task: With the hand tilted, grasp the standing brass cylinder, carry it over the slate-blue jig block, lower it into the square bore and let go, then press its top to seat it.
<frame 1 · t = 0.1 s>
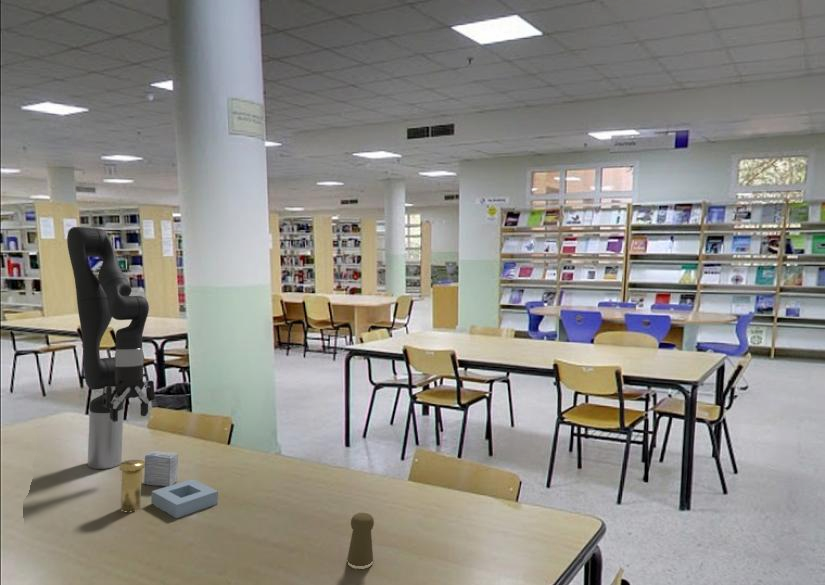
hand: (129, 418, 169), 17 cm above the table, tool pointing down, fingers open, 8 cm apart
jig: (184, 503, 154), on the table
medicine box: (160, 484, 166), on the table
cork: (359, 563, 130), on the table
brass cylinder: (130, 508, 149), on the table
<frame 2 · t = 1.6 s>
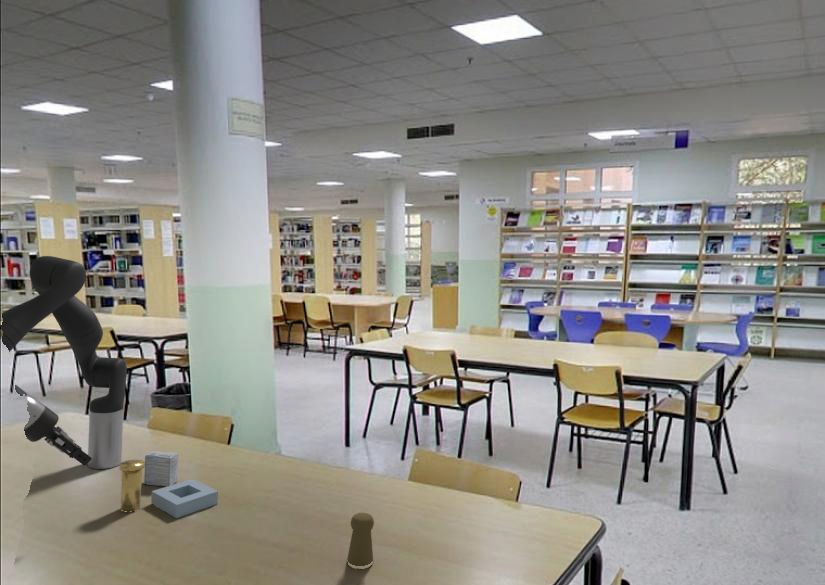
hand: (83, 456, 140), 16 cm above the table, tool tilted 45°, fingers open, 8 cm apart
nothing on the table moved.
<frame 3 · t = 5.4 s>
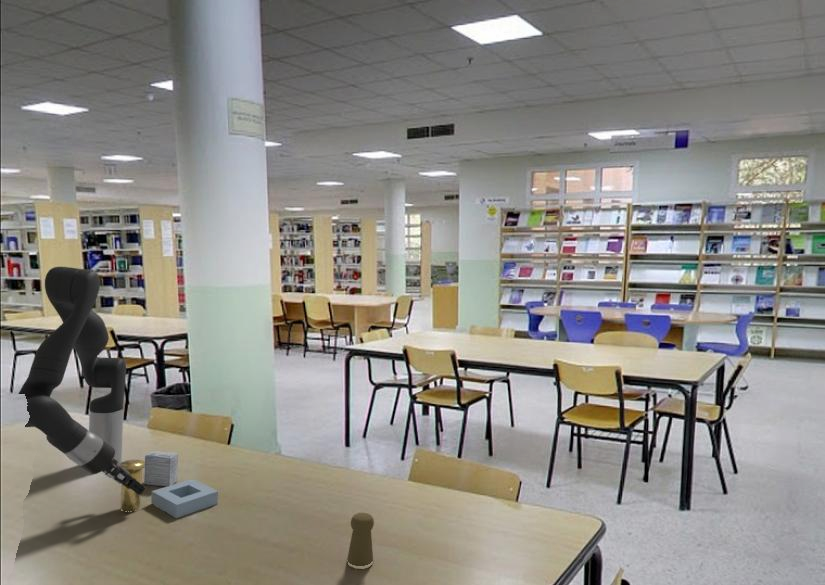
hand: (138, 487, 150), 5 cm above the table, tool tilted 45°, fingers closed on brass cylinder, 4 cm apart
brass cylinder: (130, 508, 149), on the table, touching gripper
everything else where it was.
when the fingers open (7 cm above the table, at t = 9.5 s): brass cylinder drops 1 cm, resting in jig.
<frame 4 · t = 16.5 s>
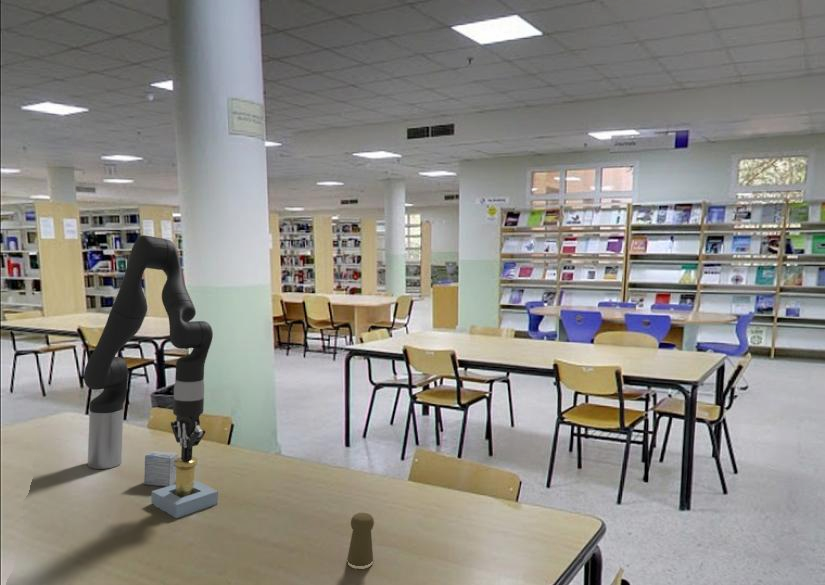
hand: (186, 460, 153), 12 cm above the table, tool pointing down, fingers closed
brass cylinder: (184, 504, 154), resting in jig, touching gripper
everything else where it was.
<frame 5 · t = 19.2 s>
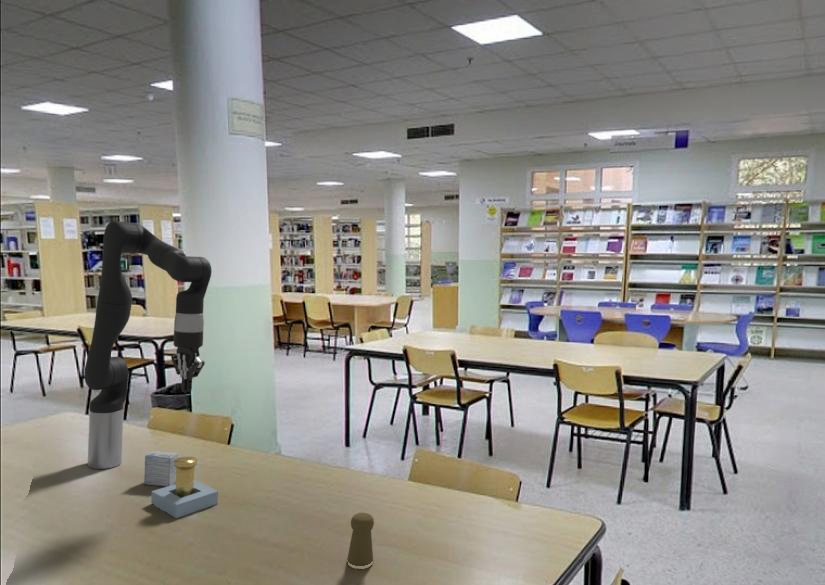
hand: (186, 391, 158), 29 cm above the table, tool pointing down, fingers closed
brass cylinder: (184, 504, 154), resting in jig
everything else where it was.
at the end: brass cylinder 0.1 cm off-centre on the jig, point 0.0 cm above the jig's base; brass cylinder tilted 0°; the gripper is holding nothing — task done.
